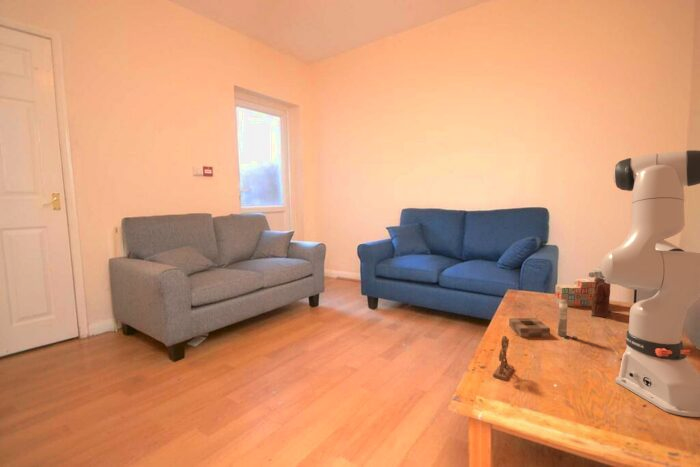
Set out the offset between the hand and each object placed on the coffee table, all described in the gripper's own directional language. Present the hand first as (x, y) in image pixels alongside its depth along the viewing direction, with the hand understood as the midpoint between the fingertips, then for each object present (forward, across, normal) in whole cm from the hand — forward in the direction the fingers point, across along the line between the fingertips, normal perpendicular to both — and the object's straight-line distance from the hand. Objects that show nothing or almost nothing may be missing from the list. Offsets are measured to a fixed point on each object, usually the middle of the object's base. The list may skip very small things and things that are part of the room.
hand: (597, 277), depth 128 cm
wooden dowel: (+12, 0, +23) cm, 26 cm away
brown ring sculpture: (+46, +29, +23) cm, 58 cm away
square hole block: (+23, -4, +23) cm, 33 cm away
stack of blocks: (-18, -38, +24) cm, 48 cm away
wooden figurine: (-18, -24, +24) cm, 38 cm away
